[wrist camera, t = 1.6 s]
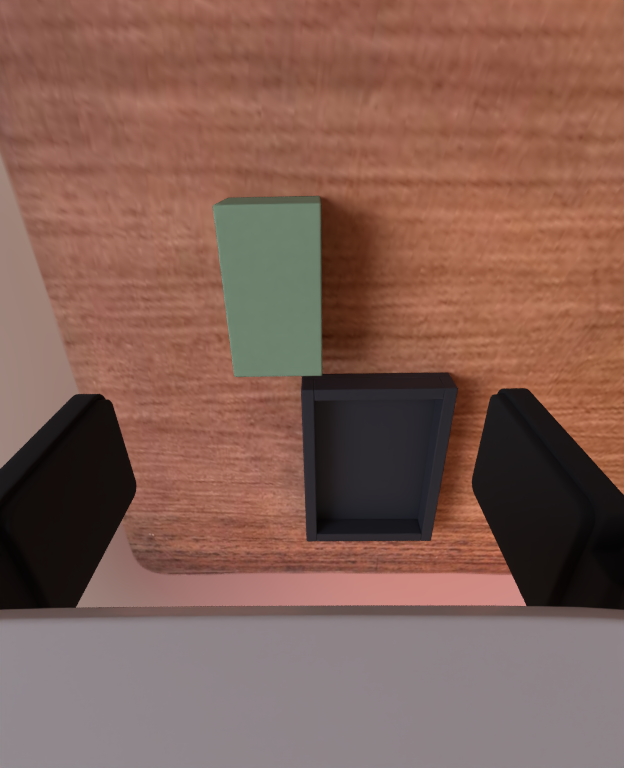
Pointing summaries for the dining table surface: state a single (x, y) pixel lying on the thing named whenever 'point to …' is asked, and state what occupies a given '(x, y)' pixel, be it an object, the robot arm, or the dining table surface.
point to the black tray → (374, 454)
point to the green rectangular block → (272, 283)
